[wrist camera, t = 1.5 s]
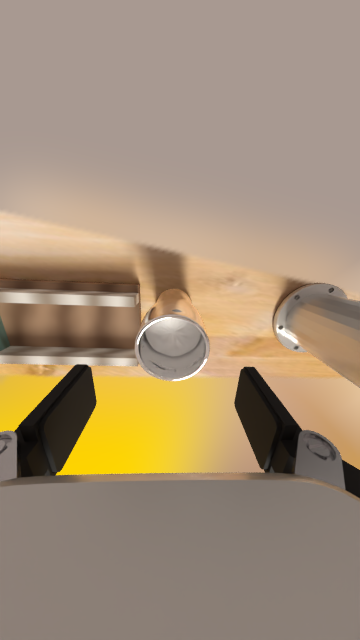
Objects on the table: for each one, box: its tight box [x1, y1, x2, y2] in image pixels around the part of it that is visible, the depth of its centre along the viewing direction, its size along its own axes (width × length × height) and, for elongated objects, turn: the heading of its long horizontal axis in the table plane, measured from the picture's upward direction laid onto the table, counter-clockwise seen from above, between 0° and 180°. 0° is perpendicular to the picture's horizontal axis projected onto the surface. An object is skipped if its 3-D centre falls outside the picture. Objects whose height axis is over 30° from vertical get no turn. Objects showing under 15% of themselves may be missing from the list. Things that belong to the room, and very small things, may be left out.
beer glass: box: [135, 289, 210, 381], centre depth 22 cm, size 7×7×15 cm
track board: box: [0, 279, 141, 366], centre depth 27 cm, size 24×14×4 cm, turn 88°
